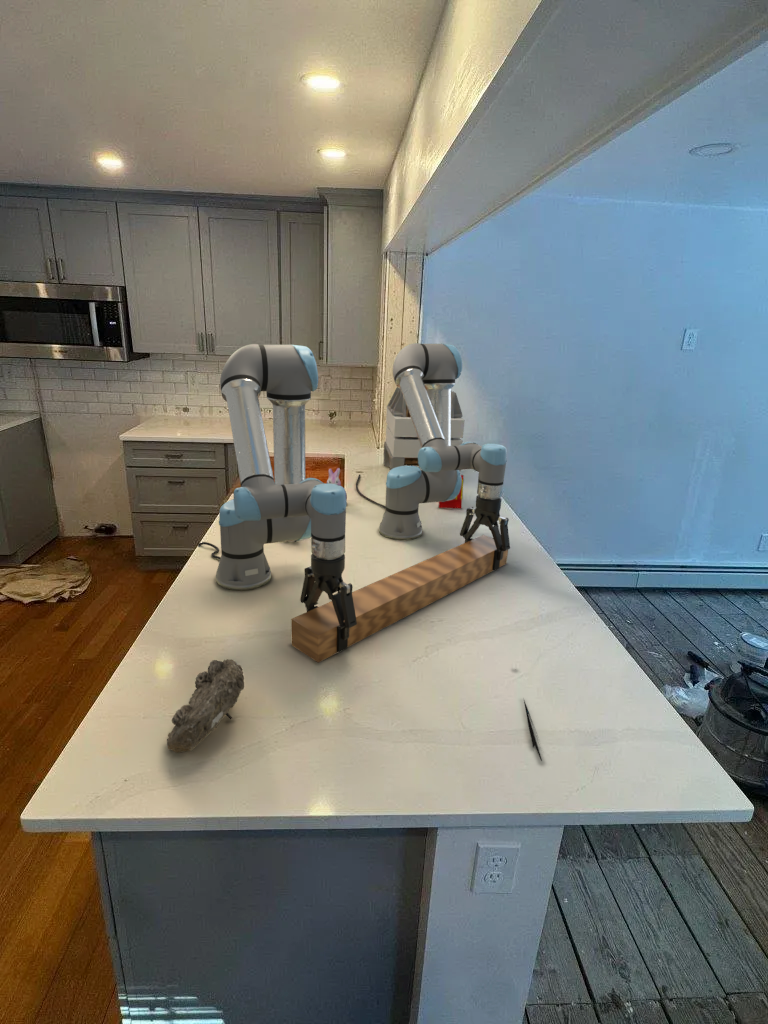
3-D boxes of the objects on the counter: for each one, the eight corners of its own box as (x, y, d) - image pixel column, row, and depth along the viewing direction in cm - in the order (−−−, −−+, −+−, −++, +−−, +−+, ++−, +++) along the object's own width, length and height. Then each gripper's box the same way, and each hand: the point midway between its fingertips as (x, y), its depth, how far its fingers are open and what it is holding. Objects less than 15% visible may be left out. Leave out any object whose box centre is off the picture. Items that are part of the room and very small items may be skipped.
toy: (456, 466, 252) (467, 476, 223) (454, 496, 255) (465, 509, 225) (428, 465, 252) (437, 475, 222) (427, 495, 254) (435, 508, 225)
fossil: (192, 660, 117) (244, 628, 112) (224, 691, 120) (276, 661, 115) (142, 746, 98) (202, 712, 93) (182, 779, 101) (242, 748, 96)
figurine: (329, 510, 219) (330, 473, 214) (320, 502, 228) (320, 466, 222) (352, 507, 223) (353, 470, 218) (341, 499, 232) (342, 464, 227)
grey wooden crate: (382, 463, 289) (386, 382, 275) (445, 464, 293) (451, 384, 279) (390, 482, 257) (394, 392, 243) (460, 483, 261) (468, 394, 247)
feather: (515, 674, 127) (521, 668, 126) (541, 765, 100) (548, 758, 100) (509, 670, 127) (514, 664, 126) (533, 761, 100) (540, 753, 99)
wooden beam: (481, 554, 186) (483, 534, 184) (506, 563, 180) (509, 543, 178) (291, 645, 132) (291, 618, 130) (318, 663, 126) (318, 635, 123)
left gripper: (283, 543, 130) (285, 627, 138) (350, 575, 116) (348, 667, 124) (309, 535, 136) (309, 617, 143) (375, 564, 121) (372, 654, 129)
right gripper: (452, 489, 175) (446, 555, 183) (514, 508, 161) (505, 579, 168) (466, 485, 180) (460, 549, 188) (528, 502, 166) (519, 571, 174)
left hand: (327, 640), depth 133 cm, fingers closed on wooden beam, 10 cm apart
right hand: (481, 563), depth 178 cm, fingers closed on wooden beam, 10 cm apart
